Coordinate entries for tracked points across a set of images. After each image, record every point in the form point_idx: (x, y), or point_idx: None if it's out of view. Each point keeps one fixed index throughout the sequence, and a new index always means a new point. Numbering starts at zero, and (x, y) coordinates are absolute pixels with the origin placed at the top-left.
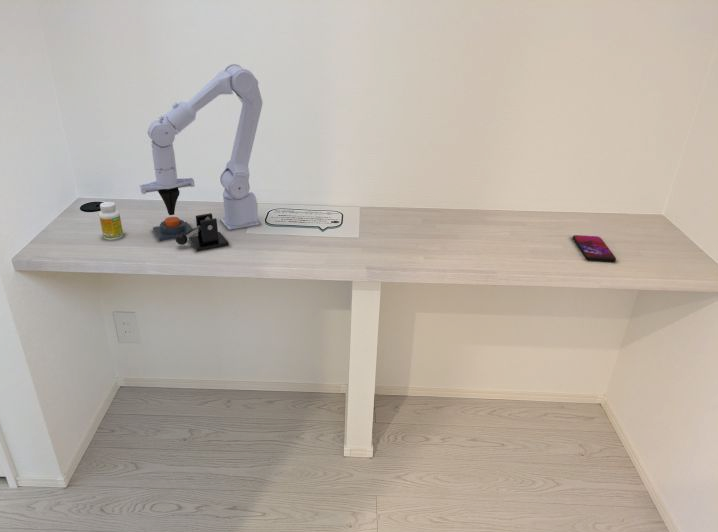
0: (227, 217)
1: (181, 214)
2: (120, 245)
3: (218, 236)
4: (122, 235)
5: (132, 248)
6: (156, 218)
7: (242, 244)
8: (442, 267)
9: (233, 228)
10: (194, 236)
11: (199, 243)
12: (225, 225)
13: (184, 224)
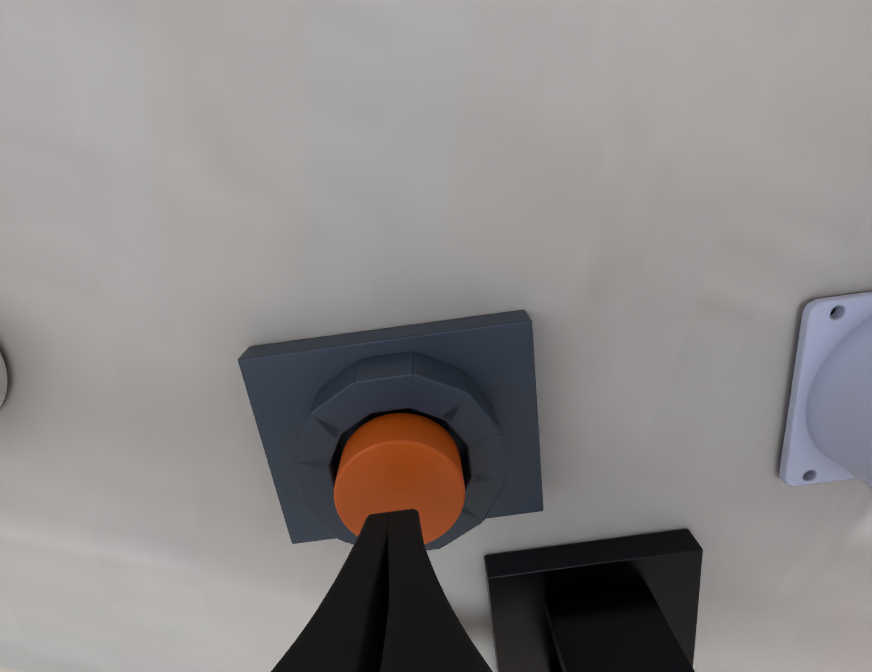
0: (861, 466)
1: (528, 14)
2: (33, 511)
3: (669, 608)
4: (4, 390)
5: (126, 566)
6: (268, 47)
7: (755, 651)
8: None
9: (813, 482)
10: (527, 577)
11: (533, 662)
12: (789, 419)
13: (494, 498)
